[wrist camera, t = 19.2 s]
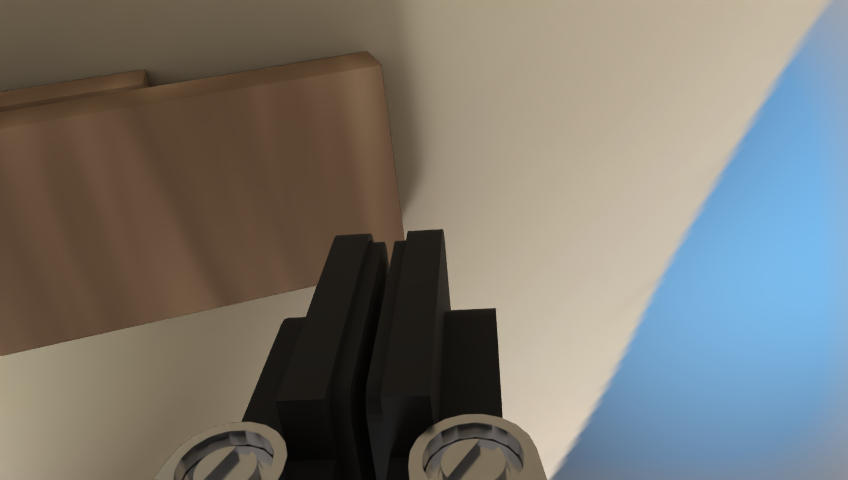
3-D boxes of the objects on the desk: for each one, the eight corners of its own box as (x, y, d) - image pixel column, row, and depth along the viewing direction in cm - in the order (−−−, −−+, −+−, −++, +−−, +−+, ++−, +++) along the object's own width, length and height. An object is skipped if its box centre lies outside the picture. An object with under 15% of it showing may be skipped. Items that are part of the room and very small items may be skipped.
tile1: (381, 65, 16) (-126, 150, 14) (407, 264, 18) (-25, 361, 16) (367, 51, 17) (-95, 127, 15) (393, 238, 19) (-6, 324, 18)
